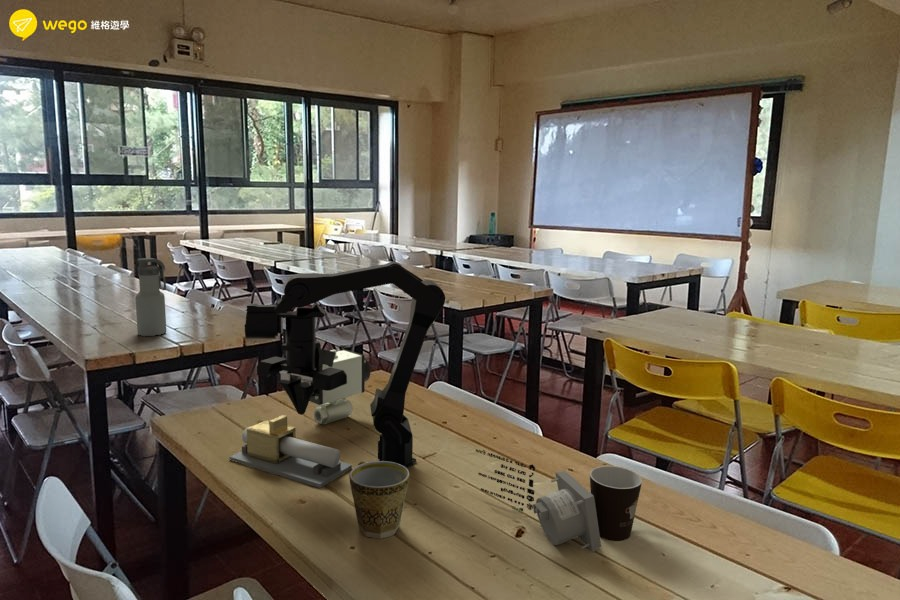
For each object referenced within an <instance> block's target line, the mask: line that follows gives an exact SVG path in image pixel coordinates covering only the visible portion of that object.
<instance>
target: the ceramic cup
mask: <svg viewBox="0 0 900 600" xmlns="http://www.w3.org/2000/svg"><path fill="white" fill-rule="evenodd" d="M350 470H351V471H349V477H348V478H349V483H350V490H351V491H350V492H351V496H352V499H353V504H354V510H355V515H356V522H357V526H358V529H359V530H360V532H361V533H362V534H363V535H364V536H365V537H367V538H374V539H381V540H382V539H384V538H389V537H392V536H394V535H395V534H396V532H397V531H398V529H399V527H400V524H401V518H402V515H403V514H402V513H403V507H404V505H405V504H404V503H405V499H406V494H407V491H408V486H409V482H410V481H409V480H410V472H409V470H408V468H405V467H404V466H402V465H400V464H397V463H394V462H388V461H379V460H377V461H376V460H374V461H369V462H365V461H360V462H358V465H357V466H355V467H353V468H352V469H350Z"/></svg>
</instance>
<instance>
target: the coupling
mask: <svg viewBox="0 0 900 600" xmlns="http://www.w3.org/2000/svg"><path fill="white" fill-rule="evenodd" d="M248 427H249V426H248ZM246 428H247V427H246ZM296 429H297V428H296V426H291V425H288V415H285V414H282V415H279V416H277V417H275V418H273V419H270V420H269V419H266V420H264V421H261V422H259V423H256V424H254V425H252V426H251V427H249V428H247V443H246V444H247V452H248V455H250V456H253V457H256V458H260V459H263V460H267V461H270V462H273V463H279V462H280V461H282V460H284V459H286V458H288V457H290V456H289V455H286V454H282V453H279V440H278V439H279V438H281V437H283V436H289V437H293V438H296V437H297V436H296V435H297V434H296ZM296 439H297V438H296Z"/></svg>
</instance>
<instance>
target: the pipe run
mask: <svg viewBox="0 0 900 600" xmlns="http://www.w3.org/2000/svg"><path fill="white" fill-rule="evenodd" d="M249 427H252V426H251V425H250V426H247V427H246V428H245V429H244V430H243V432H242V435H241V436H242V437H241V439H242V442H243V443H244V445H241V451H239V452H236V453H234V454H232V455H230V456H229V457H228V458H229V460H230V459H231V460H234V461H237V462H239V463H238V464H240V463H243V464H245V465H244V466H247V465H248V467H250V466H251V467H250V468H254V469H256V468H257V469H256V470H261V471H263V472H266V473H269V474H273V475H276V476H279V475H280V477H282V476H283V477H284V478H286V477H287V478H286V479H290V480H293V481H296V482H300V483H302V484H306V485H309V486H312V487H316V488H319V489H322V488H323V487H324V486H327V485H328V484H329V483H331V482H332V481H334V480H336V479H337V478H339V477H340V476H342V475H344V474H345V473H347V472H350V470H352V469H353V465H352V464H350V463H348V462H347V463H346V462H343V461H340V459H341V453H340V450H339V449H337V448H333V447H330V446H325V445H321V444H319V443H314V442H311V441H307V440H303V439H299V438H293V437H289V436H283V437H281V438H279V439H278V440H279V453H282V454H286V455H289V456H290V457H288V458H286V459H284V460H282V461H280V462H279V463H273V462H270V461H267V460H263V459H260V458H256V457H253V456H250V455H248V452H247V428H249ZM234 461H233V462H234ZM237 462H236V463H237ZM243 464H242V465H243Z"/></svg>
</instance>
